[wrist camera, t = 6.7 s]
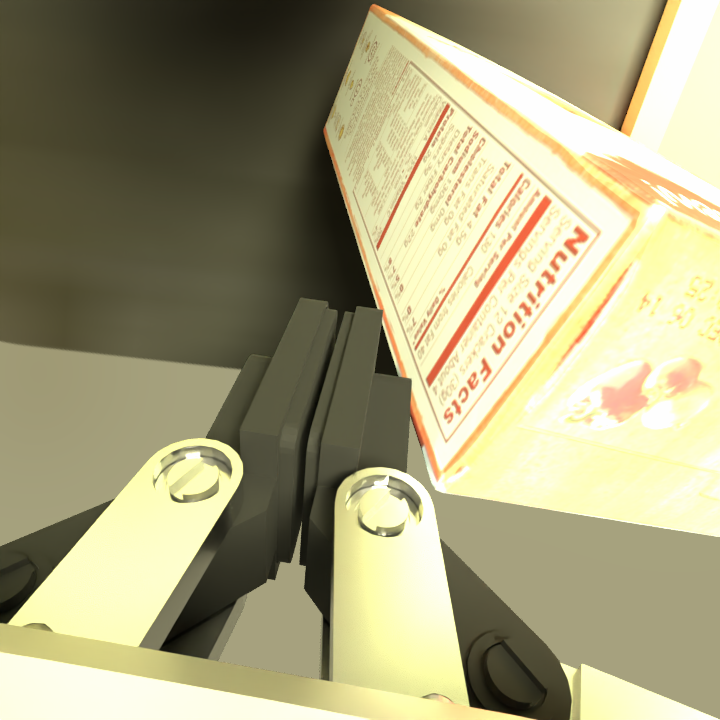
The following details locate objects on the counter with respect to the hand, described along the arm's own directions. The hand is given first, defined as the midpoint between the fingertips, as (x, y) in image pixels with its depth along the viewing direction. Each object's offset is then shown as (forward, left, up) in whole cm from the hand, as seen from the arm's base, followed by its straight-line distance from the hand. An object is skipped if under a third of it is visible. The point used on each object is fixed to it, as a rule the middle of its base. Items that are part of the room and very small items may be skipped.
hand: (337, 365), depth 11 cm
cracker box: (-1, +4, -19) cm, 20 cm away
